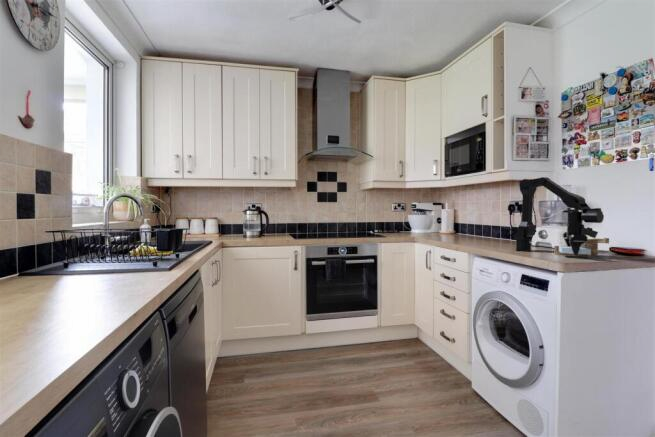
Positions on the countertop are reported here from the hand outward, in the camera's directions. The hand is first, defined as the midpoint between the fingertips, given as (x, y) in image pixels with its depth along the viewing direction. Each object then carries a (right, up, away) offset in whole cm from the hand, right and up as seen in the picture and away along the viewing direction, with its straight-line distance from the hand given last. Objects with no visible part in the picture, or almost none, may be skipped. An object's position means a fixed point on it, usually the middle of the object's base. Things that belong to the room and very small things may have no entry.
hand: (573, 254), depth 151 cm
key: (+14, +5, +3) cm, 15 cm away
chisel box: (+6, -1, +7) cm, 9 cm away
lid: (0, +1, 0) cm, 1 cm away
